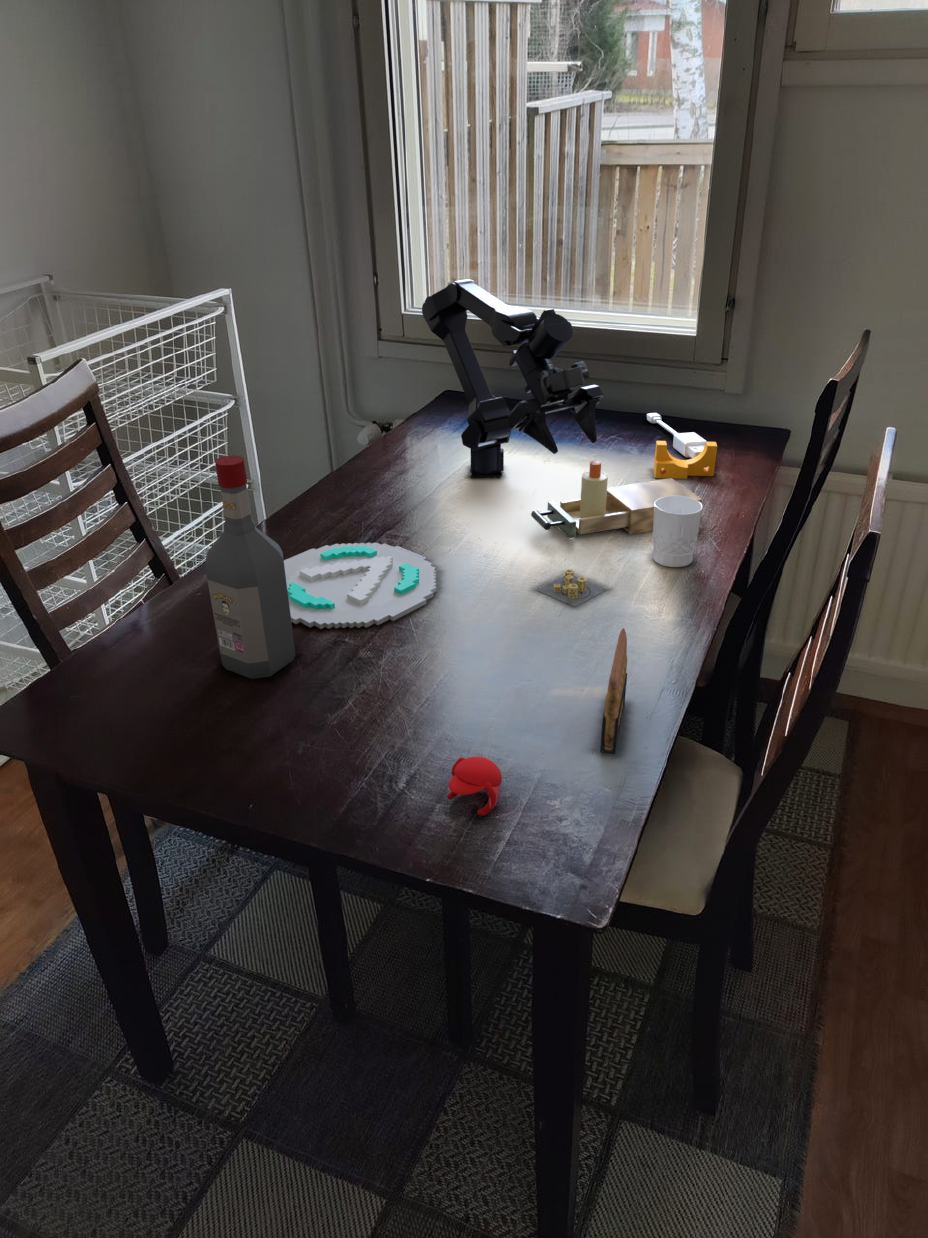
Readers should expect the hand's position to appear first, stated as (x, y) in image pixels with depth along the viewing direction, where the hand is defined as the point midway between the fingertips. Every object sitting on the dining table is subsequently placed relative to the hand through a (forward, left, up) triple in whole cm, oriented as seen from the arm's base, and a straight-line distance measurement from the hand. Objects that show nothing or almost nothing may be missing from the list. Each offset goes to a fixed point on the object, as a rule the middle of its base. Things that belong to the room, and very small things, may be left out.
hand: (575, 447), depth 166 cm
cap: (-17, -80, -14) cm, 83 cm away
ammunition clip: (0, -66, -14) cm, 67 cm away
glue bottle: (+3, -5, -12) cm, 13 cm away
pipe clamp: (+25, +21, -14) cm, 35 cm away
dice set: (-2, -29, -14) cm, 32 cm away
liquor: (-48, -50, -14) cm, 71 cm away
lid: (-38, -27, -14) cm, 49 cm away
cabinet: (+14, 0, -13) cm, 20 cm away
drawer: (+1, -5, -13) cm, 14 cm away
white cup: (+16, -18, -14) cm, 28 cm away
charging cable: (+27, +42, -14) cm, 51 cm away
